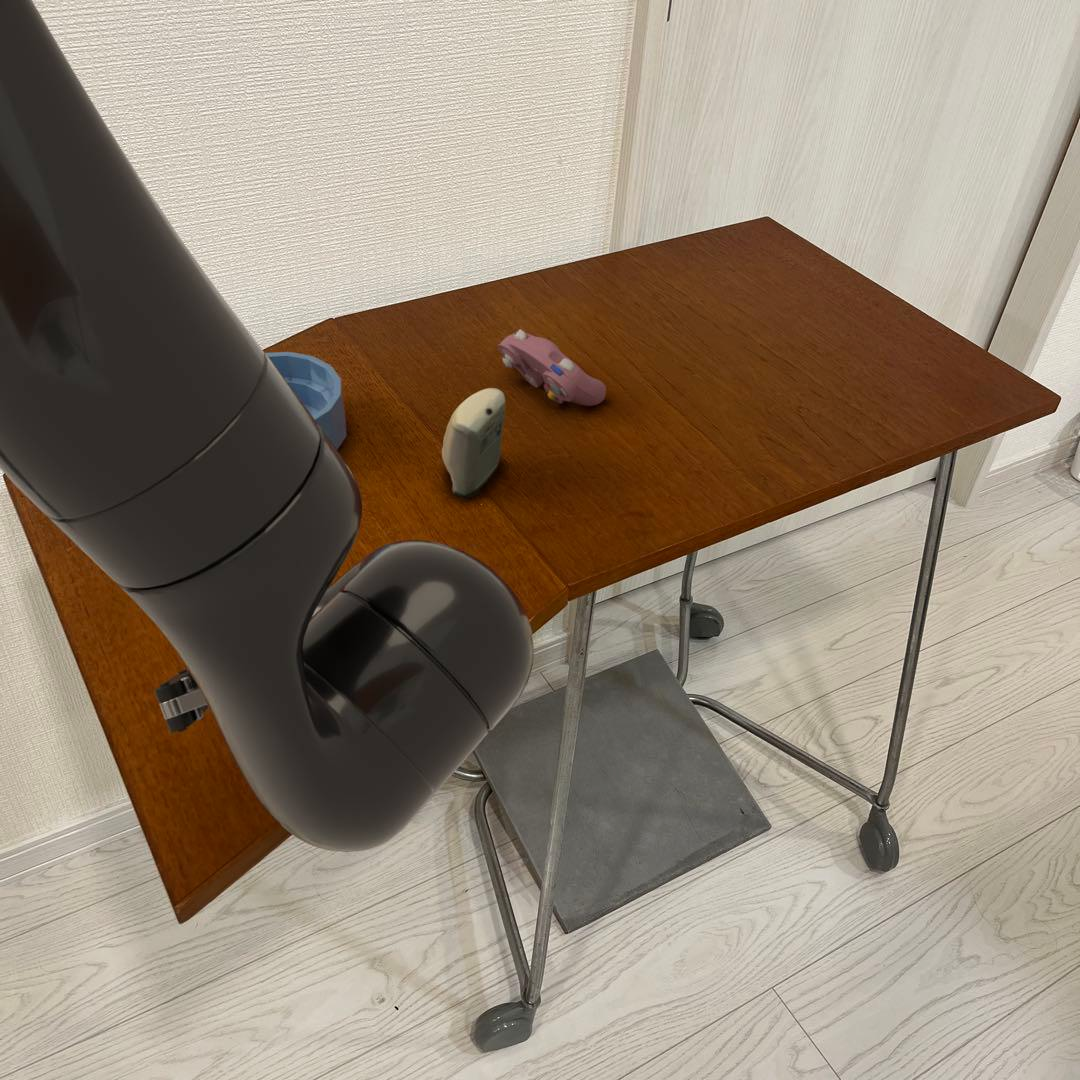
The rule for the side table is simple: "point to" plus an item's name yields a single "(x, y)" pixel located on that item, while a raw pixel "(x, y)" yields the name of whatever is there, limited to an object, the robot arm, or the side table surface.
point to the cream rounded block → (474, 441)
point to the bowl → (315, 390)
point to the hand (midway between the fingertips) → (263, 657)
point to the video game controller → (550, 369)
